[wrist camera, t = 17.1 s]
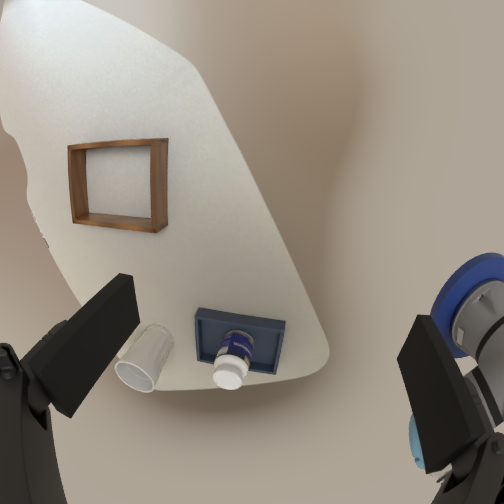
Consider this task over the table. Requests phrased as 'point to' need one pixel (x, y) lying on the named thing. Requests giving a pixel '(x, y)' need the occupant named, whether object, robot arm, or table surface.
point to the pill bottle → (233, 359)
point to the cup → (145, 359)
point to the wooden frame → (115, 221)
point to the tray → (260, 329)
